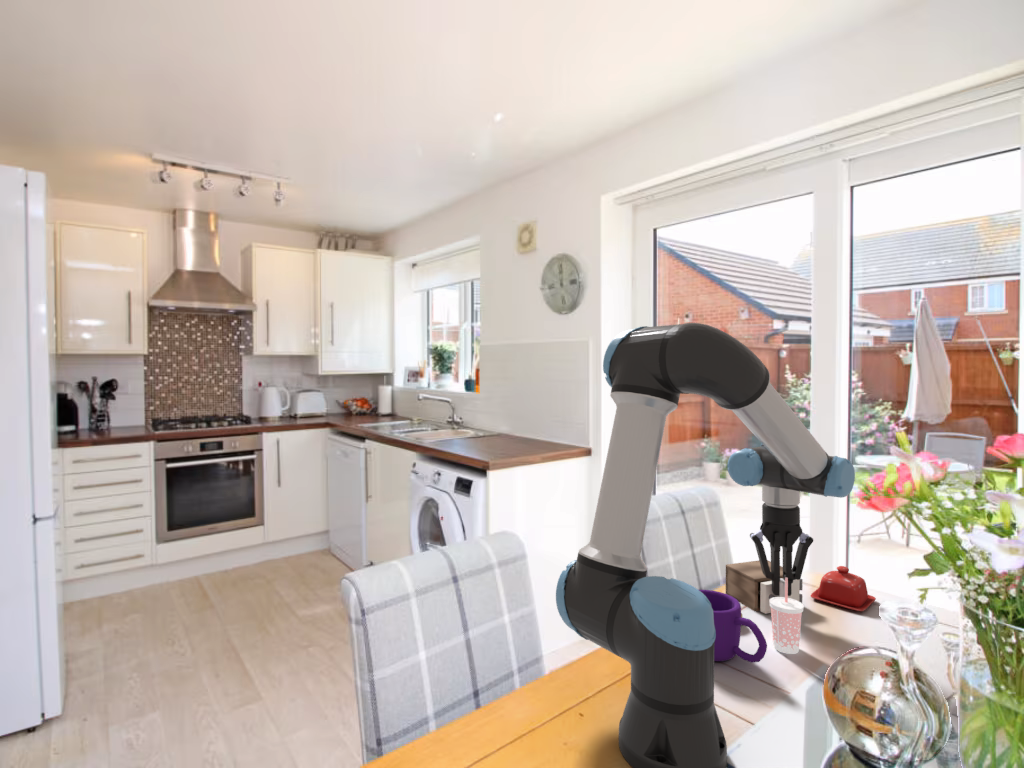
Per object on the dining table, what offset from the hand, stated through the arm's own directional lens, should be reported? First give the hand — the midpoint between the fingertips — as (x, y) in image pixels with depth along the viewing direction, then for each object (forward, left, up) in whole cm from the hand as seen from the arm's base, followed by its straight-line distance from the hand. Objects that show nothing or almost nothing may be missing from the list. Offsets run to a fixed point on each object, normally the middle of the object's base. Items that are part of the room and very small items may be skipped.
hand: (781, 609), depth 123 cm
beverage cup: (-10, -11, -2) cm, 15 cm away
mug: (-24, -10, -2) cm, 26 cm away
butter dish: (+21, +3, -2) cm, 21 cm away
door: (+8, +3, -2) cm, 9 cm away
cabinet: (+2, +9, -2) cm, 9 cm away
